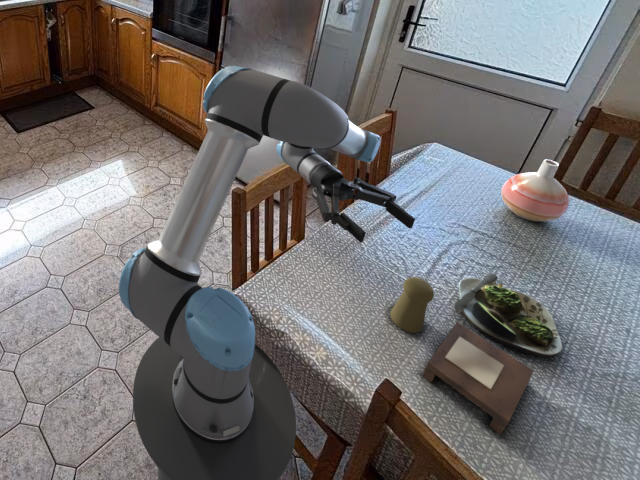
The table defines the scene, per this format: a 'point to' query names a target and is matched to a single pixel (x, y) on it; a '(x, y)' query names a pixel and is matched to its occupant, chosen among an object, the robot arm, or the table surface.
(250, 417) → the robot arm
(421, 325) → the cork
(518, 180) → the vase
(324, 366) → the table surface
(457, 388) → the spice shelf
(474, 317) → the salad plate
